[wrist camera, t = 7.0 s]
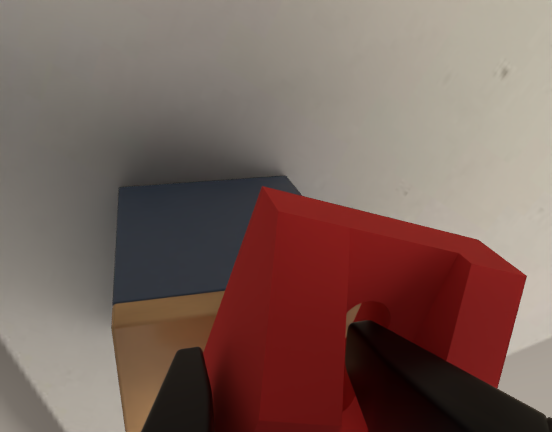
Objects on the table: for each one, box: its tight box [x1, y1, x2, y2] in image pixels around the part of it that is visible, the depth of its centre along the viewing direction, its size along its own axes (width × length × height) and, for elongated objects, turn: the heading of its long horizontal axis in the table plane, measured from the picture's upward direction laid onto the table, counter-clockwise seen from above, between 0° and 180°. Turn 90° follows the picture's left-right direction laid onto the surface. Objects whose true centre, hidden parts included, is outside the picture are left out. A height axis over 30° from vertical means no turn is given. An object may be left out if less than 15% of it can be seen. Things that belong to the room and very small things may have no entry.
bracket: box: [203, 186, 527, 432], centre depth 9 cm, size 6×5×3 cm
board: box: [111, 291, 361, 432], centre depth 14 cm, size 7×7×1 cm
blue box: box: [113, 176, 302, 305], centre depth 18 cm, size 7×7×8 cm
